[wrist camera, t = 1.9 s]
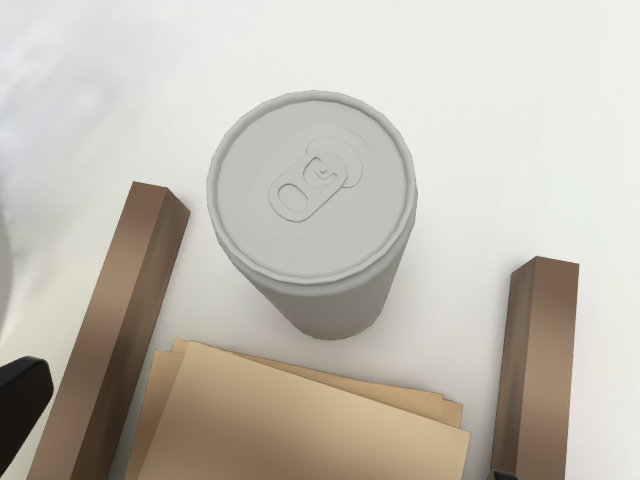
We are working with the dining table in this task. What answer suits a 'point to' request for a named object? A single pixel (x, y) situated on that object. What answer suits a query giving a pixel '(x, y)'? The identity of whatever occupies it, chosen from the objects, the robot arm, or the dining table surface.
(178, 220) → the offcut rack
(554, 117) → the dining table surface
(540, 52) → the dining table surface
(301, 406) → the offcut stack
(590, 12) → the dining table surface
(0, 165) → the dining table surface
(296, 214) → the beverage can
